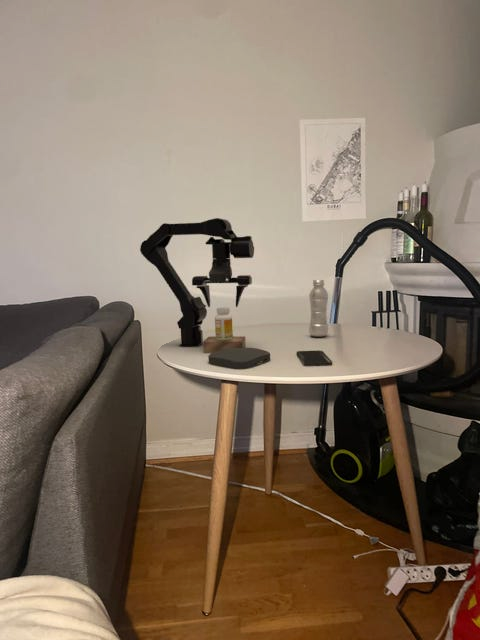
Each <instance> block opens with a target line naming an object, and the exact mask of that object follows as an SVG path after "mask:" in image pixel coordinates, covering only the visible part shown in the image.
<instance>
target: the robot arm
mask: <svg viewBox="0 0 480 640" xmlns="http://www.w3.org/2000/svg"><path fill="white" fill-rule="evenodd" d="M193 235H195V236H196V235H202V236H203V235H205V236H208V237H209V236H210V237H209V238H208V239H207V240H206V241H205V245H211V250H212V252H211V254H212V258H211V259H212V262H211V268H210V270H209V272H208V275H195V276H193V277H192V278H191V285H192V286H195V288H196V289H199V290H200V291H201V293H202V295H203V297H204V299H205V302H206V304H205V303H204V302H203V300H202V298H201V296H197V297H195V296H193V295H192V294H191V292H190V291H189V289H188V288H187V286H186V285H185V283H184V282H183V280H182V279H181V277H180V276H179V274H178V272H177V271H176V269H175V268H174V266H173V265H172V264H171V262H170V260H169V257H168V256H169V255H168V252H167V250H166V249H167V246H168V245H169V244H170V242H171V239H172V237H173V236H193ZM214 237H216V238H214ZM219 238H220V239H219ZM252 239H253V238H252V236H251V235H245V236H237V235H236V233H235V232H234V230H233V229H232V224H231V222H230V221H229V220H227V219H226V218H225V219H223V218H219V217H216V218H215V217H214V218H211V219H208V220H203V221H201V222H187V223H186V222H184V223H162V224H161V225H160V226H159V228H157V229H156V230H155V231H154V232H153V233H152V234H151V235H149V236H148V237H147V239H145V240H143V241H142V243H140V248H139V251H140V253H141V255H142V256H143V257H144V258H145V259H146V260H147V261H148V262H149V263H150V264H152V265H153V266H154V267H156V270H158V272H159V273H160V275H161V277H162V278H163V279H164V281H165V283H166V284H167V286H168V287H169V288H170V290H171V292H172V293H173V295H174V296H175V297H176V299H177V301H178V303H179V309H180V312H181V314H182V316H181V317H180V319H179V320H177V323H176V324H177V326H178V329H180V342H181V343H180V344H179V346H180V347H199V346H200V345H202V344H203V341H204V339H203V338H204V337H203V330H202V327H201V325H203V321H204V320H205V319H206V317H207V314H208V310H207V307H208V308H210V307H211V295H210V293H211V292H210V285H209V284H237V285H236V286H235V287H236V292H235V295H236V296H235V307H236V308H238V307H239V305H240V300H241V296H242V294H243V292H244V290H245V288H247V287H249V285H252V283H253V278H252V276H251V274H249V275H247V274H245V275H243V274H242V275H241V274H240V275H236V276H237V277H233V270H232V266H231V265H232V264H231V263H232V262H231V256H232V257H233V258H234V259H252V258H254V254H255V246H254V242H253V240H252Z"/></svg>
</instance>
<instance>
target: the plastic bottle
mask: <svg viewBox="0 0 480 640" xmlns="http://www.w3.org/2000/svg"><path fill="white" fill-rule="evenodd" d="M312 286H313V288H312V289H311V290H310V293H309V295H308V297H309V304H310V306H309V307H310V319H309V320H310V321H309V327H308V331H309V332H308V333H309V335H310V336H311V337H316V338H321V337H325V336H328V333H329V326H328V321H327V320H328V319H327V318H328V317H327V310H328V300H329V293H328V291H327V290H326V288H325V287H324V286H325V280H324V279H314V280H313V281H312Z"/></svg>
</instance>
